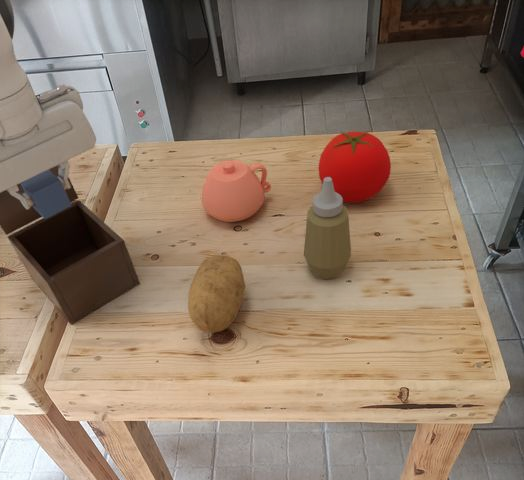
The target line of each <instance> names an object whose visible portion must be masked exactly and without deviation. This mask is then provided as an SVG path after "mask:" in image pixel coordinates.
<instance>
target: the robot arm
mask: <svg viewBox="0 0 524 480" xmlns="http://www.w3.org/2000/svg"><path fill="white" fill-rule="evenodd" d="M12 5H13V4H12V3H11V0H0V193H1V192H3V191H5V190H7V191H8V192H9V193H10V194H11V195H12V196H14V197H16V198H17V199H19V200H20V201H21V203H22V205H23V206H24V207H25V208H26V209H27V210H28V209H30V208H32V207H34V206H36V205H35V203H34V202H33V199H32V197H31V196H30V195H29V194H28V193H27V192H25V193H23V194H21V193H20V192H18V191H19V188H18V187H17V184H19V183H22V182H24V181H26V180H28V179H30V178H32V177H34V176H36V175H38V174H40V173H42V172H44V171H46V170H49V169H51V168H53V167H55V166H58V167H59V172H58V177H57V178H59V179H60V180H61V183H62V185H63V187H64V189H65V190H67V189H69V188H71V186H70V184H69V182H68V177H69V176H70V175H69V174H70V168H71V165H70V163H69V161H70V160H71V159H74V158H76V157H78V156H79V155H82V154H84V153H86V152H88V151H90V150H92V149H94V148H95V146H96V142H97V136H96V134H95V132H94V129H93V128H92V126H91V124H90V122H89V119H88V118H87V116H86V114H85V113H84V111H83V110H84V103H83V99H82V98H81V95H80V92H79V90H77V89H76V88H75V87H73V86H69V85H68V86H67V85H65V84H60V85H58V86H56V87H55V88H52V89H50V90H47V91H43V92H40V93H38V94H36V93H35V91H34V89H33V86H32V83H31V82H30V79H29V77H28V75H27V73H26V71H25V70H24V68H23V67H22V66H21V65H20V63H19V61H18V59H17V57H16V54H15V47H14V42H13V39H14V34H15V14H14V9H13V6H12Z"/></svg>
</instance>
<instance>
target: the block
mask: <svg viewBox="0 0 524 480" xmlns="http://www.w3.org/2000/svg"><path fill="white" fill-rule="evenodd" d="M20 184H21V186H22V188H23V190H24V192H27V193H28V194H29V195H30V196H31V197H32V199H33V202H34V203H35V205H36V206H34V207H33V208H34V209H35V210H36V211H37V212H38V213H39V214H40V215H41V216H42V217H41V218H44V219H47V218H49V217H51V216H53V215H55V214H56V213H58V212H60V211H62V210H64V209H66V208H68V207H70V206H72V205H71V204H72V202H70V200H69V198H68V196H67V194H66V192H65V189H64V187H63V185H62V183H61V180H60V179H59V178H57V177H56V176H55V175H54V174H53V173H52V172H51V171H50V170H46V171H44V172H42V173H40V174H38V175H36V176H34V177H32V178H30V179H28V180H26V181H24V182H22V183H20Z"/></svg>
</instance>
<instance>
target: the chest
mask: <svg viewBox="0 0 524 480" xmlns="http://www.w3.org/2000/svg"><path fill="white" fill-rule="evenodd" d="M71 205H72V206H70V207H68V208H66V209H64V210H62V211H60V212H58V213H56V214H55V215H53V216H51V217H49V218H47V219H44V218H43V217H41V218H39V219H38V220H37V221H34V222H33V223H30V224H28V225H26V226H24V227H22V228H20V229H18V230H16V231H14V232H12V234H11V233H10V234H8V236H7V239H8V241H9V243H10V244H11V246H12V248H13V250H14V251H15V252H16V254H17V256H18V257H19V260H20V262H22V264H23V266H24V268H25V269H26V271H27V273H28V275H29V277H30V278H31V279H32V280H33V282H34V283H35V284H36V286H38V288H39V289H40V290H41V292H43V294H44V295H45V296H46V297H47V298H48V299H49V301H50V302H51V303H52V304H53V306H54V307H55V308H56V309H57V310H58V312H59V313H60V314H61V315H62V316H63V317H64V319H65V320H66V321H67V322H68V323H69V324H70V325H71V326H72V325H73V324H75V323H77V322H79V321H80V320H82V319H84V318H85V317H87V316H89V315H90V314H92V313H93V312H95V311H97V310H99V309H100V308H102V307H104V306H105V305H107V304H109V303H110V302H112V301H114V300H116V299H117V298H119V297H120V296H122V295H124V294H125V293H126V292H128V291H130V290H132V289H133V288H135V287H137V286H139V285H140V284H141V282H140V280H139V276H138V275H137V272H136V271H137V270H136V269H135V266H134V263H133V261H132V258H131V256H130V252H129V249H128V248H127V245H126V242H125V240H124V239H123V238H122V237H121V236H120V235H119V234H118V233H117V232H115V231H114V230H113V229H112V228H111V227H109V225H107V223H106V222H105V221H103V220H102V219H101V218H99V217H98V215H96V214H95V213H94V212H93V211H92V210H91V209H90V208H88V207H87V206H86V204H84V203H83V202H82V201H81V200H80V199H77V200H75V201H73V202H71Z"/></svg>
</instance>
